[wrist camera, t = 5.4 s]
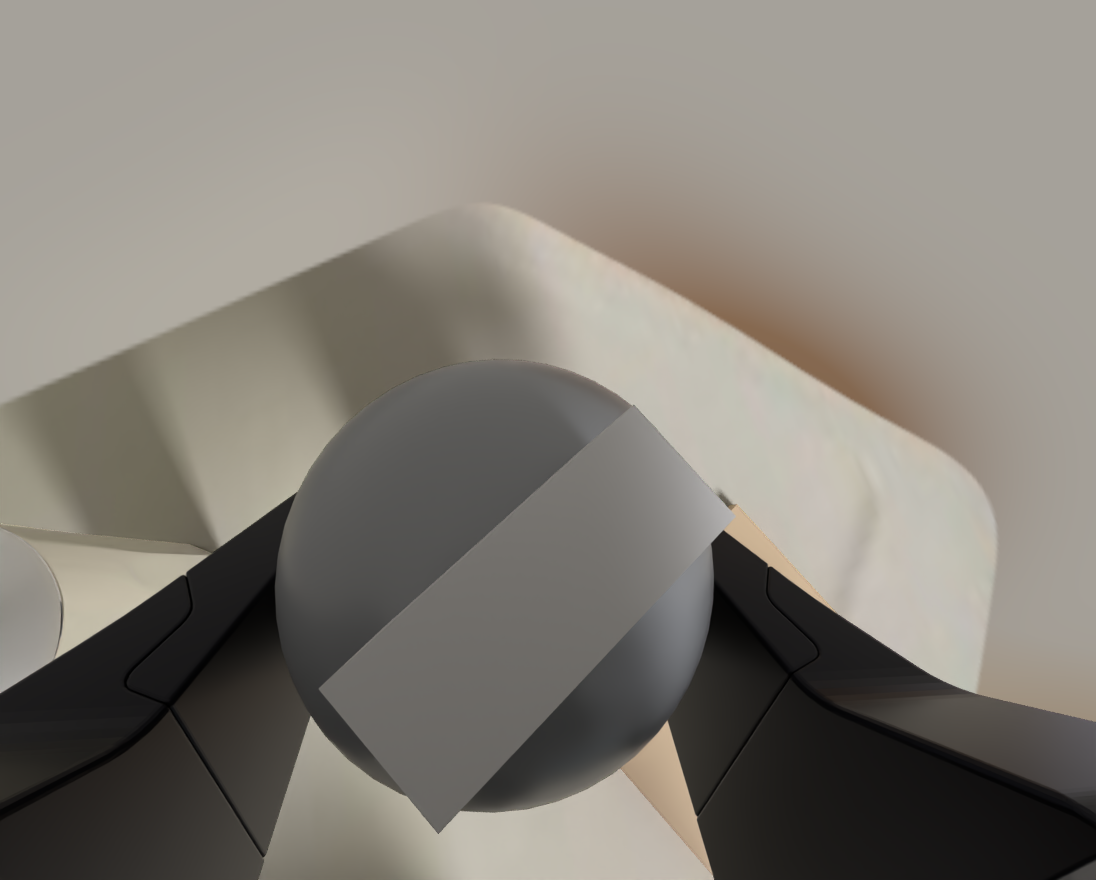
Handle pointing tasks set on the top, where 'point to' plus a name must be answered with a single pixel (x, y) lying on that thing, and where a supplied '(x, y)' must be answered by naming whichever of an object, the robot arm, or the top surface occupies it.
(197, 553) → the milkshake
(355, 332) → the top surface
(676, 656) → the grey bottle
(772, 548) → the cork mat
